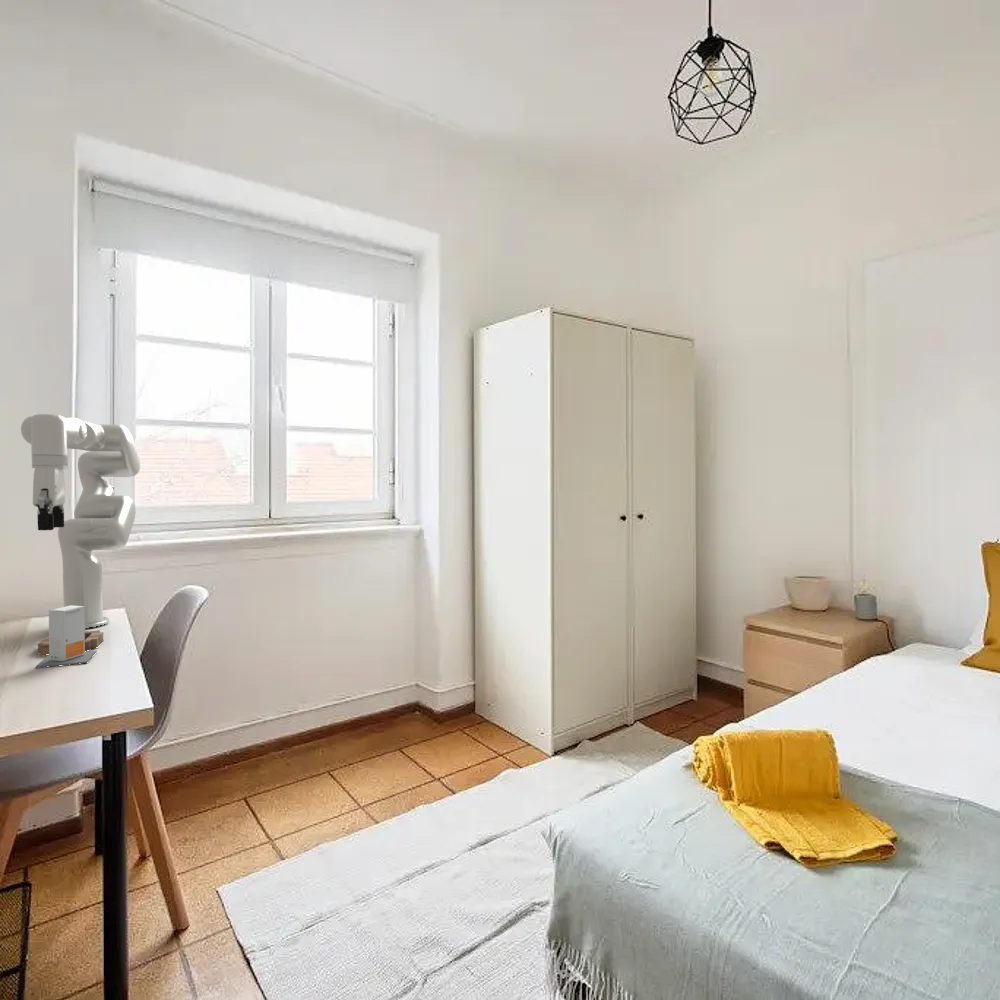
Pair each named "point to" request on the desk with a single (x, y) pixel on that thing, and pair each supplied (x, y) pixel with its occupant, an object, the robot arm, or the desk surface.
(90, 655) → the grey rubber mat
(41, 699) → the desk surface
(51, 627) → the skincare box
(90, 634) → the box
